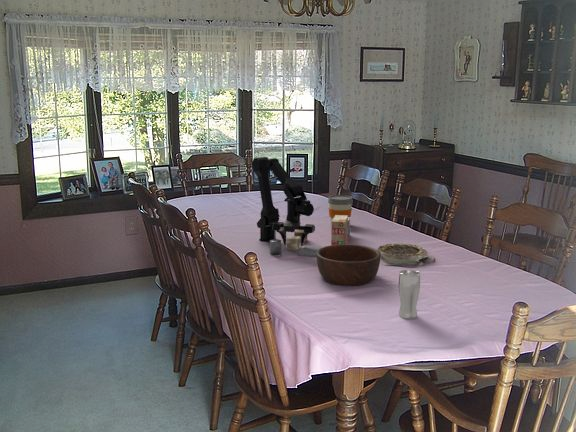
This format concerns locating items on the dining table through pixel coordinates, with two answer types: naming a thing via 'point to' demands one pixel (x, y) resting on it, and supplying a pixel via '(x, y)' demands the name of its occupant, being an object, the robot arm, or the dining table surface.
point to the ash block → (293, 242)
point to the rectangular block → (299, 235)
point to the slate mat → (309, 251)
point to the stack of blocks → (340, 229)
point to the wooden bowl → (348, 264)
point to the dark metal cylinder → (275, 247)
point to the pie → (403, 254)
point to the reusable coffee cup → (339, 205)
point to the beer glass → (408, 293)
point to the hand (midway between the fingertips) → (293, 245)
